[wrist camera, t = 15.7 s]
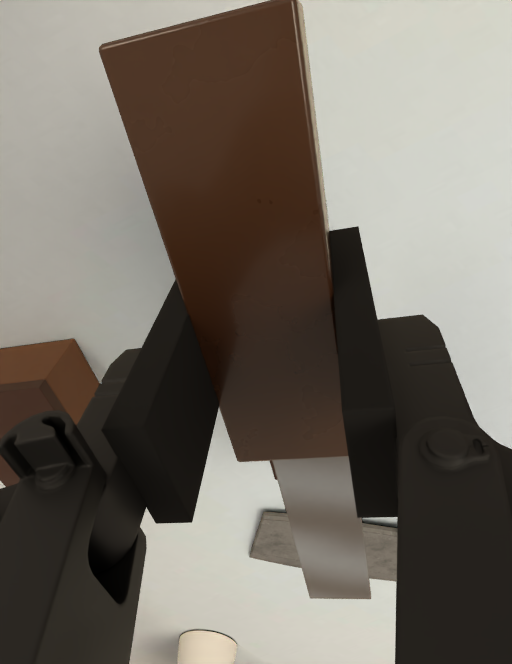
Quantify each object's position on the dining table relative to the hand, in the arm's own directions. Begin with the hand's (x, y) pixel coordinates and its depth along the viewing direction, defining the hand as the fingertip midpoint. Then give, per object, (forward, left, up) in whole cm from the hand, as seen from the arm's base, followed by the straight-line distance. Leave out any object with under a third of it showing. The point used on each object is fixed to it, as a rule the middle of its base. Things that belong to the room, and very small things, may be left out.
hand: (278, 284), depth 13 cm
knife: (+5, 0, 0) cm, 5 cm away
